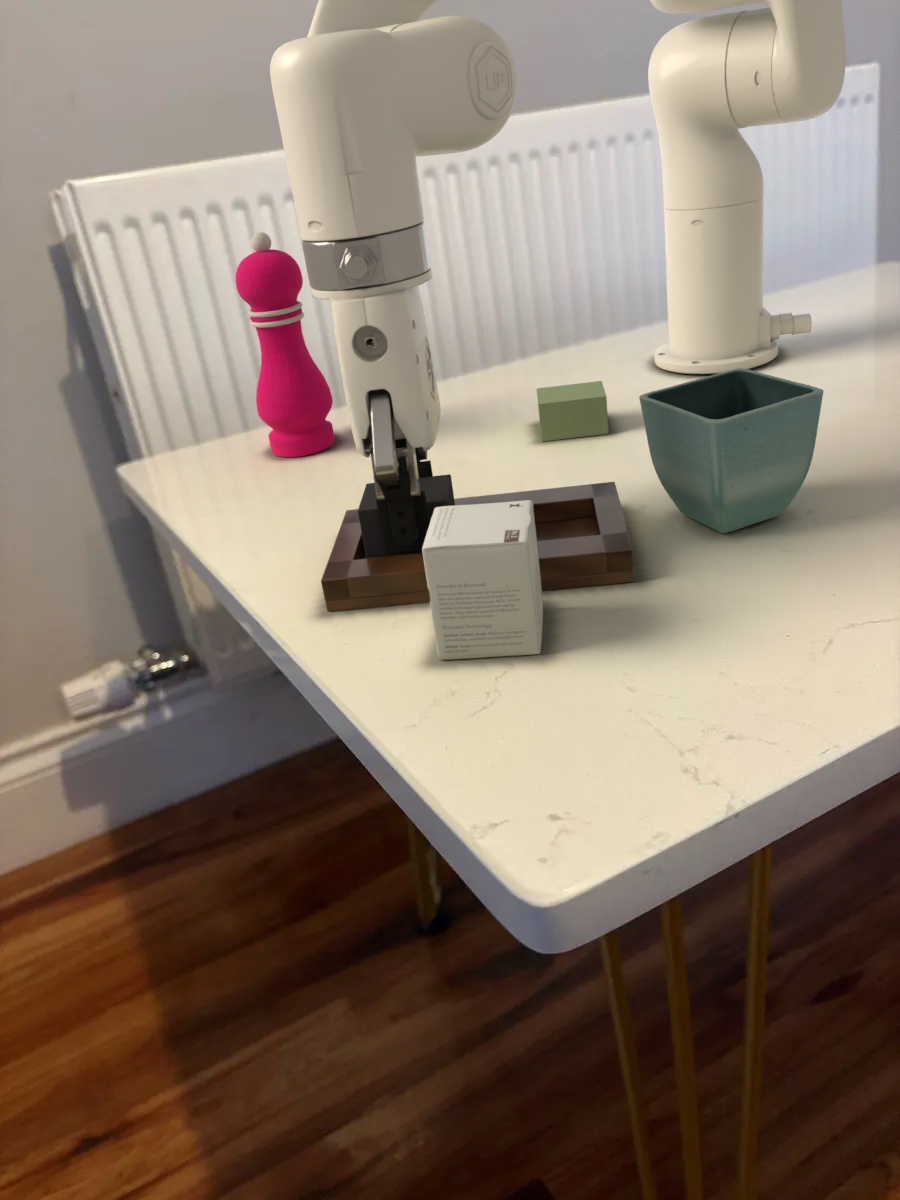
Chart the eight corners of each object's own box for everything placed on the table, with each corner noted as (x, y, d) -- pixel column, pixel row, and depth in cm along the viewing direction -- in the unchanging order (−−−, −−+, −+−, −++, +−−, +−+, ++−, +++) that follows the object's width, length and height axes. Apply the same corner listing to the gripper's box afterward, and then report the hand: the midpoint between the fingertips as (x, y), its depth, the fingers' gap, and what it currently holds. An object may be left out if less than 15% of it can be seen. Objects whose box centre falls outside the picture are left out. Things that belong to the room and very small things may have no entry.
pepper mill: (327, 457, 96) (283, 234, 87) (255, 461, 98) (205, 243, 89) (349, 432, 102) (310, 221, 93) (281, 436, 104) (237, 230, 95)
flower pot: (641, 513, 75) (635, 393, 71) (741, 483, 77) (741, 365, 73) (715, 553, 67) (712, 422, 63) (823, 518, 70) (827, 389, 66)
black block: (457, 519, 73) (450, 473, 71) (454, 549, 69) (447, 500, 67) (374, 528, 74) (366, 483, 72) (366, 558, 69) (357, 510, 68)
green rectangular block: (604, 417, 96) (601, 380, 94) (608, 434, 91) (606, 395, 90) (539, 424, 96) (536, 388, 95) (541, 441, 92) (537, 403, 90)
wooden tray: (616, 510, 76) (614, 481, 75) (634, 582, 65) (633, 549, 64) (351, 537, 78) (346, 509, 77) (327, 612, 67) (320, 580, 66)
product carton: (448, 612, 65) (432, 505, 61) (544, 606, 64) (533, 496, 61) (437, 662, 59) (419, 547, 56) (542, 656, 59) (530, 538, 55)
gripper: (418, 279, 55) (462, 582, 63) (436, 233, 70) (470, 482, 78) (281, 297, 56) (342, 594, 64) (329, 248, 71) (373, 493, 79)
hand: (412, 530), depth 71 cm, fingers closed on black block, 4 cm apart
